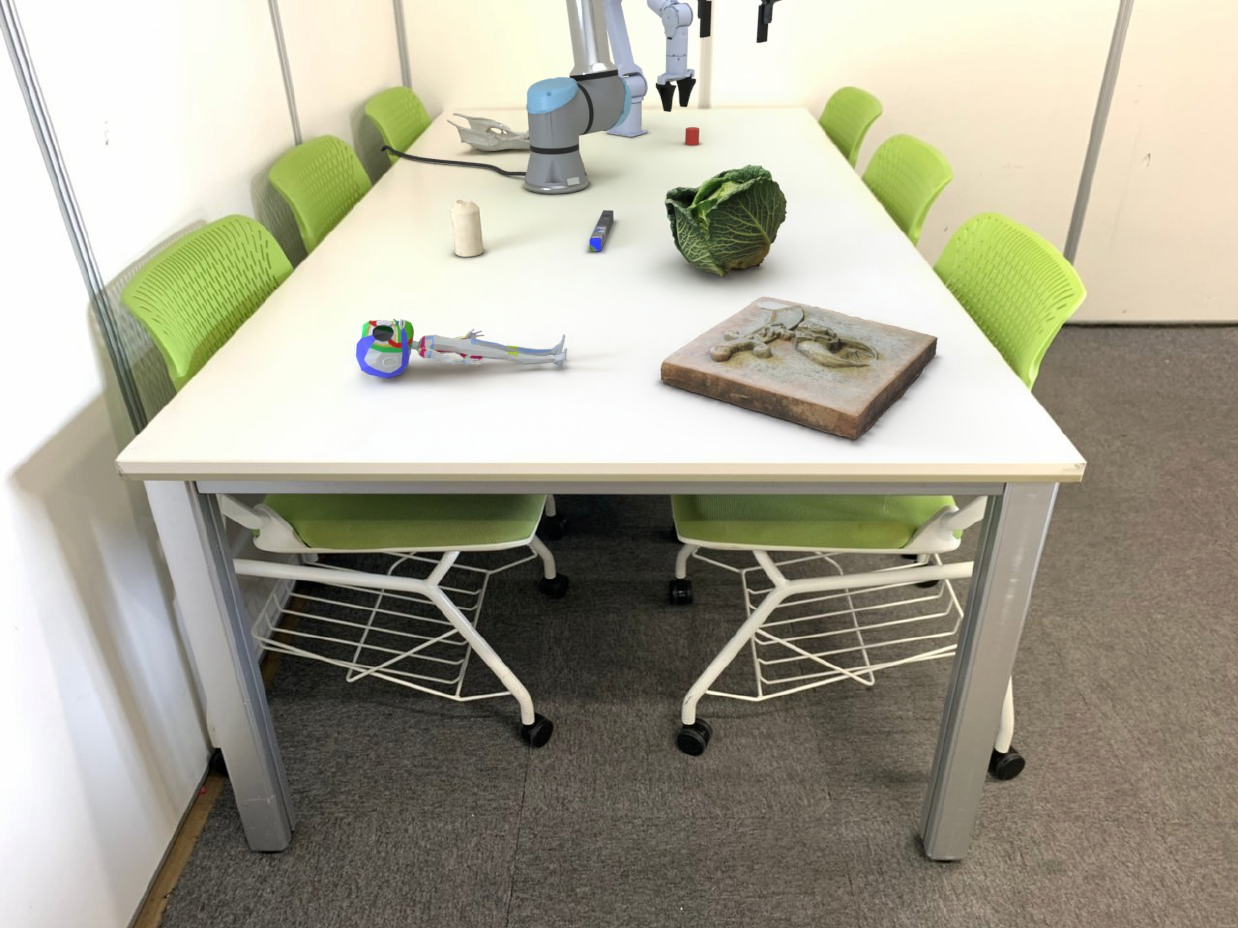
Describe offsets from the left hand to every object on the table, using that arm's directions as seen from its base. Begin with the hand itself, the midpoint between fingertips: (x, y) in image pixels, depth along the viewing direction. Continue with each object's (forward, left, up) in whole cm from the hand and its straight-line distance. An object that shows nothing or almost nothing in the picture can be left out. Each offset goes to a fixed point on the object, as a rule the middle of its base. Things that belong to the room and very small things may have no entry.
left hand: (732, 40), depth 178 cm
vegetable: (+23, -29, -34) cm, 50 cm away
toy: (+21, -87, -34) cm, 96 cm away
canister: (-46, +43, -34) cm, 72 cm away
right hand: (-49, +40, -25) cm, 68 cm away
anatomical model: (-82, +3, -34) cm, 89 cm away
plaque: (+58, -54, -34) cm, 86 cm away
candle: (-20, -55, -34) cm, 68 cm away
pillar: (-8, -30, -34) cm, 46 cm away
